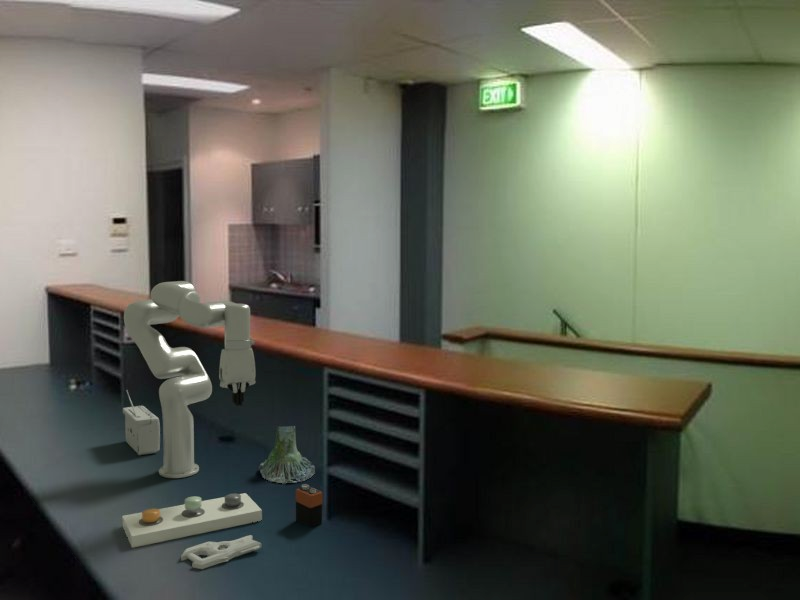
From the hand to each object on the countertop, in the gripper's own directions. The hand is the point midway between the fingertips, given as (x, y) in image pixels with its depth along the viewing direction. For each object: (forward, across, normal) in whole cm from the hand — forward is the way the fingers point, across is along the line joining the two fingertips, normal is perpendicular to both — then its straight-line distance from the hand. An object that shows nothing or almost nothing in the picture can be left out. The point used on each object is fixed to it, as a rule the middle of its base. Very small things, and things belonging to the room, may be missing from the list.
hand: (237, 404), depth 209 cm
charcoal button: (+24, +7, +17) cm, 30 cm away
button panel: (+27, +18, +17) cm, 37 cm away
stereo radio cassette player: (+27, +18, -57) cm, 66 cm away
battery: (+27, -10, +31) cm, 43 cm away
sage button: (+22, +18, +17) cm, 33 cm away
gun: (+28, +17, +38) cm, 50 cm away
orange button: (+24, +29, +17) cm, 41 cm away
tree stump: (+27, -19, -8) cm, 34 cm away
